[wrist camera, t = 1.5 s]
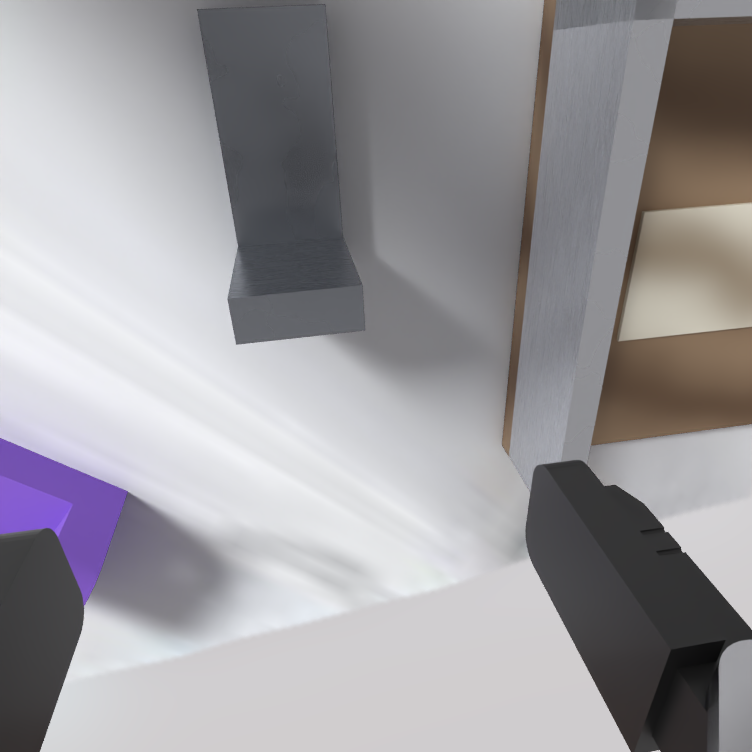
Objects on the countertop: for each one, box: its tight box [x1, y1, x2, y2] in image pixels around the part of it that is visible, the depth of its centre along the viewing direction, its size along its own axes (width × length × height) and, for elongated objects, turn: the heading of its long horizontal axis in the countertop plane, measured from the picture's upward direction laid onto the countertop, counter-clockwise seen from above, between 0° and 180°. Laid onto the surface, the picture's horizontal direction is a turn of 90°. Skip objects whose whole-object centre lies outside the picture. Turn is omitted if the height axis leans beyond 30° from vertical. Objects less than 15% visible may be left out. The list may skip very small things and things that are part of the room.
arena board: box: [502, 0, 752, 456], centre depth 25 cm, size 20×19×1 cm
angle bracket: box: [197, 4, 365, 345], centre depth 18 cm, size 9×4×7 cm, turn 3°
